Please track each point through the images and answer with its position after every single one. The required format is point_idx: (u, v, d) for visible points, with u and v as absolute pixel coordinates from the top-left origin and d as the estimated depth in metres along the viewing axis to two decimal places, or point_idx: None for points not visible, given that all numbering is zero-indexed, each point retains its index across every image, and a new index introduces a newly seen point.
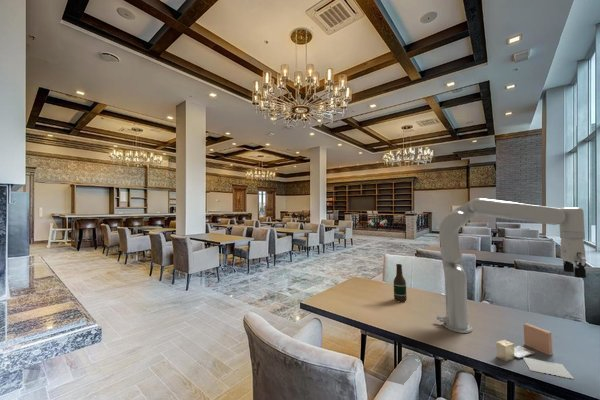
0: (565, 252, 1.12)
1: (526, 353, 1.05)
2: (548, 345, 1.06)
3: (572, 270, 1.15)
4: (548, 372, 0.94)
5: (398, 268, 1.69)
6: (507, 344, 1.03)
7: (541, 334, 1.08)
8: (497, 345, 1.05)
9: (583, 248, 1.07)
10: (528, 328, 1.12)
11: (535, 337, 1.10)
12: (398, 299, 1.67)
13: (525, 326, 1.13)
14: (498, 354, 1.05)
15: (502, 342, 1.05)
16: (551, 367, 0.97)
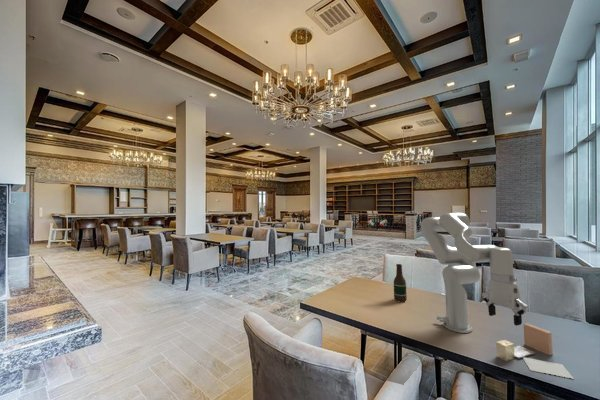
0: None
1: (526, 353, 1.05)
2: (548, 345, 1.06)
3: None
4: (548, 372, 0.94)
5: (398, 268, 1.69)
6: (507, 344, 1.03)
7: (541, 334, 1.08)
8: (497, 345, 1.05)
9: None
10: (528, 328, 1.12)
11: (535, 337, 1.10)
12: (398, 299, 1.67)
13: (525, 326, 1.13)
14: (498, 354, 1.05)
15: (502, 342, 1.05)
16: (551, 367, 0.97)
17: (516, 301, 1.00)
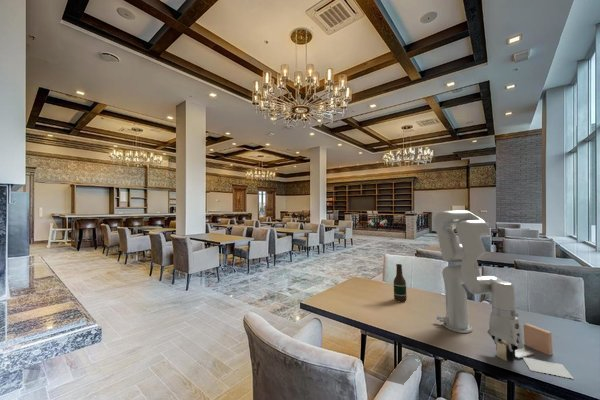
0: None
1: (526, 354, 1.05)
2: (548, 345, 1.06)
3: None
4: (548, 372, 0.94)
5: (398, 268, 1.69)
6: (507, 344, 1.03)
7: (541, 334, 1.08)
8: (497, 345, 1.05)
9: None
10: (528, 328, 1.12)
11: (535, 337, 1.10)
12: (398, 299, 1.67)
13: (525, 326, 1.13)
14: (498, 354, 1.05)
15: (502, 342, 1.05)
16: (551, 367, 0.97)
17: None
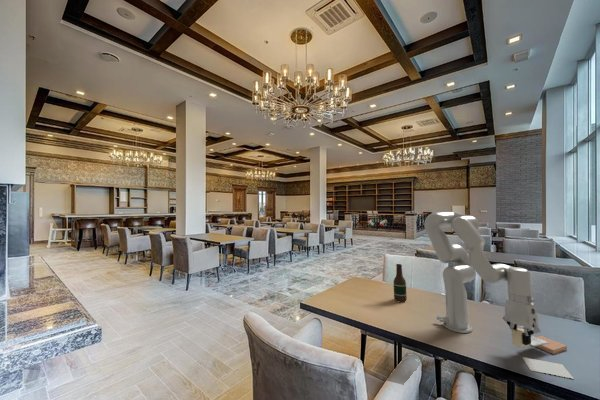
0: None
1: (541, 342, 1.07)
2: (558, 348, 1.07)
3: None
4: (548, 372, 0.94)
5: (398, 268, 1.69)
6: (523, 332, 1.05)
7: (557, 343, 1.10)
8: (513, 332, 1.07)
9: (505, 305, 1.11)
10: (544, 338, 1.15)
11: None
12: (398, 299, 1.67)
13: (542, 336, 1.16)
14: (513, 341, 1.07)
15: (518, 330, 1.07)
16: (551, 367, 0.97)
17: None
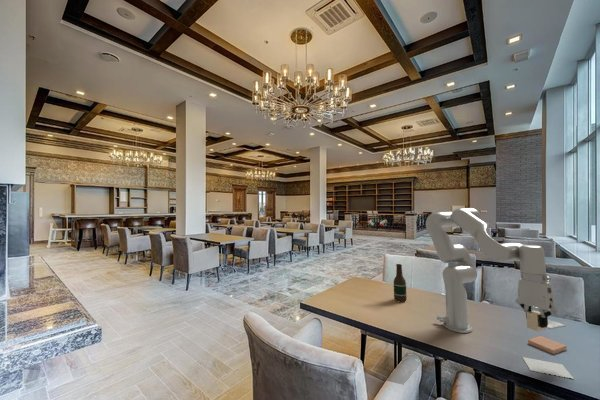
0: None
1: (557, 325, 1.00)
2: (558, 348, 1.07)
3: None
4: (548, 372, 0.94)
5: (398, 268, 1.69)
6: (539, 314, 0.98)
7: (556, 343, 1.10)
8: (527, 315, 1.00)
9: (518, 287, 1.04)
10: (544, 338, 1.15)
11: (547, 342, 1.12)
12: (398, 299, 1.67)
13: (541, 336, 1.16)
14: (528, 324, 0.99)
15: (533, 312, 1.00)
16: (551, 367, 0.97)
17: None
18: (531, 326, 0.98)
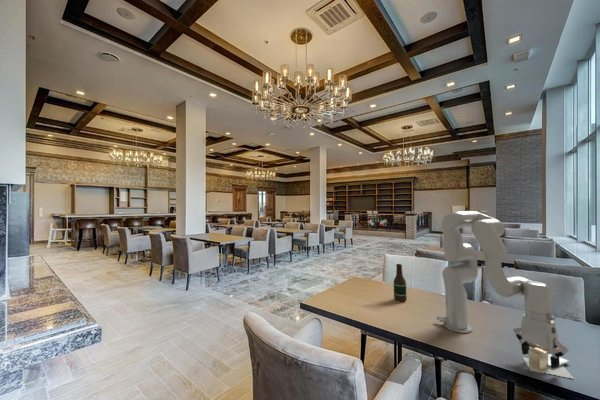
0: None
1: (560, 362, 0.98)
2: (558, 348, 1.07)
3: None
4: (548, 372, 0.94)
5: (398, 268, 1.69)
6: (541, 353, 0.96)
7: None
8: (529, 353, 0.98)
9: None
10: None
11: None
12: (398, 299, 1.67)
13: None
14: (530, 363, 0.98)
15: (535, 350, 0.98)
16: (551, 367, 0.97)
17: (554, 342, 0.93)
18: (533, 365, 0.97)
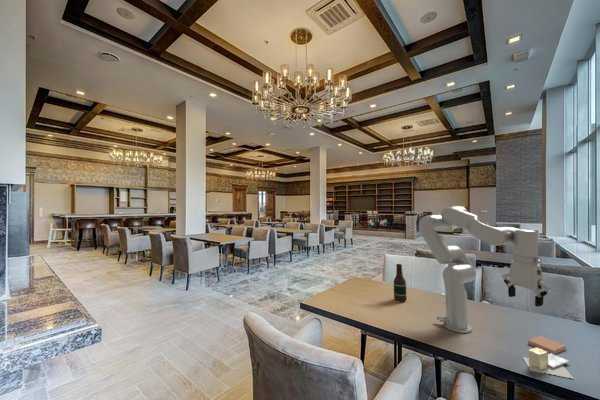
0: None
1: (560, 362, 0.98)
2: (558, 348, 1.07)
3: None
4: (548, 372, 0.94)
5: (398, 268, 1.69)
6: (541, 353, 0.96)
7: (556, 343, 1.10)
8: (529, 353, 0.98)
9: (510, 268, 1.08)
10: (543, 338, 1.15)
11: (546, 342, 1.12)
12: (398, 299, 1.67)
13: (541, 336, 1.16)
14: (530, 363, 0.98)
15: (535, 350, 0.98)
16: (551, 367, 0.97)
17: (539, 283, 0.99)
18: (533, 365, 0.97)
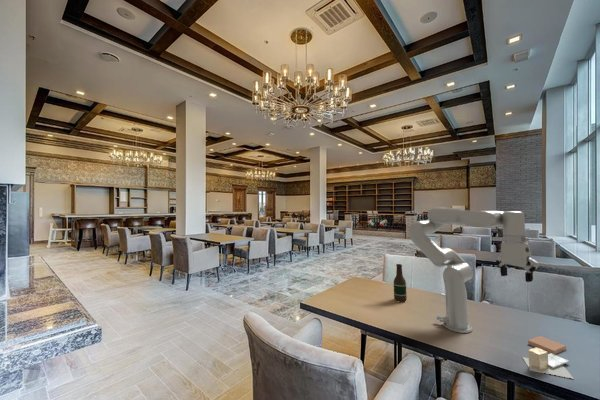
0: None
1: (560, 362, 0.98)
2: (558, 348, 1.07)
3: None
4: (548, 372, 0.94)
5: (398, 268, 1.69)
6: (541, 353, 0.96)
7: (556, 343, 1.10)
8: (529, 353, 0.98)
9: None
10: (543, 338, 1.15)
11: (546, 342, 1.12)
12: (398, 299, 1.67)
13: (540, 336, 1.16)
14: (530, 363, 0.98)
15: (535, 350, 0.98)
16: (551, 367, 0.97)
17: (528, 259, 1.06)
18: (533, 365, 0.97)
